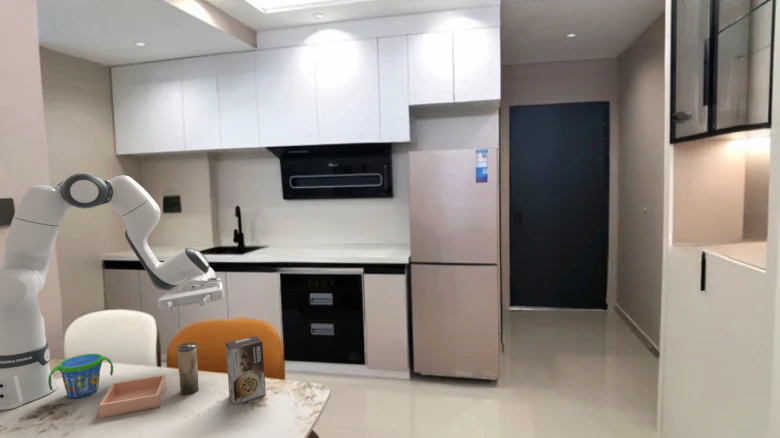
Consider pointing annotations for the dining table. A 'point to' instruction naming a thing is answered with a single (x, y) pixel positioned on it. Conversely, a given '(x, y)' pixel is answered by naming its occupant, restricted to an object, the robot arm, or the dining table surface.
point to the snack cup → (81, 374)
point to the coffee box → (245, 369)
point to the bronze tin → (188, 368)
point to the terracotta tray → (133, 396)
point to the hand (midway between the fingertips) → (186, 306)
